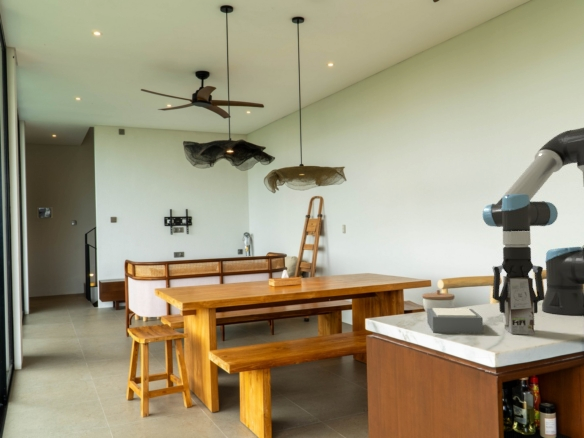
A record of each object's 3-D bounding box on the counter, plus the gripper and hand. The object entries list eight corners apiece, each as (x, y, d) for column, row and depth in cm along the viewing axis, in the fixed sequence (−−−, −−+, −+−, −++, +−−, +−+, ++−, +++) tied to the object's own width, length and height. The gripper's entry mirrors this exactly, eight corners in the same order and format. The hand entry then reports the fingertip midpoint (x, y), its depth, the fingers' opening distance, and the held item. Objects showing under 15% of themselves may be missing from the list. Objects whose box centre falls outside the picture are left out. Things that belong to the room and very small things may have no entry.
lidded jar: (461, 318, 167) (460, 291, 167) (431, 320, 165) (431, 292, 165) (445, 313, 178) (444, 287, 178) (417, 315, 176) (417, 288, 176)
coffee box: (535, 335, 140) (533, 278, 141) (510, 334, 142) (509, 278, 142) (526, 328, 149) (525, 275, 150) (503, 328, 151) (502, 275, 151)
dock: (472, 323, 159) (471, 307, 159) (482, 333, 143) (482, 316, 143) (427, 322, 161) (427, 307, 162) (433, 332, 146) (432, 315, 146)
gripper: (547, 245, 148) (549, 322, 148) (479, 246, 151) (481, 321, 151) (556, 246, 141) (558, 327, 140) (485, 246, 144) (487, 326, 143)
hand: (518, 324), depth 146 cm, fingers closed on coffee box, 6 cm apart
